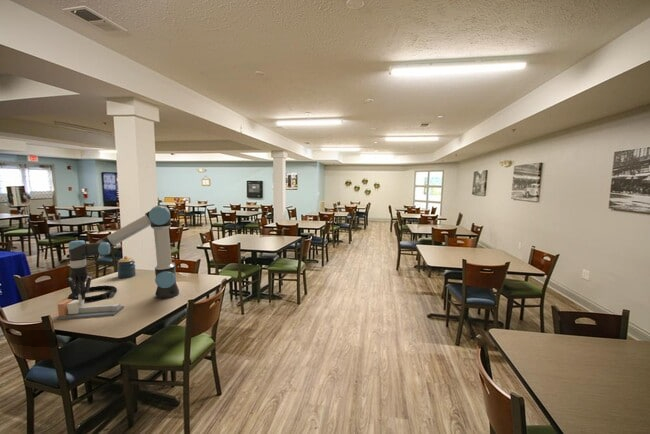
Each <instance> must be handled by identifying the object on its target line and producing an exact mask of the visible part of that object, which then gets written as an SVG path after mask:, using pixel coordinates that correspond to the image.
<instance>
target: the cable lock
mask: <svg viewBox="0 0 650 434" xmlns="http://www.w3.org/2000/svg"><path fill="white" fill-rule="evenodd" d="M80 290H81V289H80ZM97 291H107V292H104V293H101V294H96V295H90V296H85V297H86V298H85V299H84V303H90V302H96V301H100V300H105V299H112V298H114V297H115V293H117V291H118V289H117V287H116V286H114V285H96V286H90V288H89V292H88V293H91V292H97ZM80 294H81V293H80ZM67 299H72V301H73V300H77V295H76V294H72V292H71V293H69V295H68V296H67Z"/></svg>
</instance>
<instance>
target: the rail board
mask: <svg viewBox="0 0 650 434" xmlns="http://www.w3.org/2000/svg"><path fill="white" fill-rule="evenodd" d="M71 301H72V299H68V298H67V299H65V300H63V301H61V302H59V303H58V304H57V312H58V315H57V317H56V320H58V321H59V320H70V319H85V318H98V317H110V316H111V317H113V316H115V315H117V314H118V313H119V312H120V311H122V310H123V309H124V308H125V306H124V305H122V304H121V303H115V304H104V305H103V304H102V305H89V306H83V307H79V312H80V313H78V314H68V309H67V304H68V303H70V302H71Z"/></svg>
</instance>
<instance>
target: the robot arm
mask: <svg viewBox="0 0 650 434" xmlns="http://www.w3.org/2000/svg"><path fill="white" fill-rule="evenodd" d="M171 221H172V220H171V210H170V209H169V208H168V207H167V206H166V205H163V204H159V205H155V206H154V207H152V208H151V209H150V210H149V211H147V212H145V214H144V215H143V216H141V217H139V218H138V219H136V220H134V221H132V222H130V223H128V224H126V225H124V226H123V227H121V228H119V229H117V230H116V231H114V232H112V233H110V234H109V235H106V236H105V237H103V238H100V239H98V240H97V241H96V242H91V243H86V241H85V240H83V239H82V240H80V239H79V240H71V241H70V242H69V243H68V255H69V267H70V269H69V270H70V277H68V278H66V279H65V280H66V282H67V283H68V284H69V289H70V290H71V291H70V292H71V293H72V294H76V295H77V296H76V297H77V300H79V306H81V305H83V304H84V305H85V302H84V299H85V298H86V297H87V296H86V294H88V293H90V292H89V288H90V287H91V283H92V279H94V278H93V276H90V275H89V274H88V266H87V257H90V256H105V255H109V254H111V248H113V247H114V246H116V245H118V244H120V243H122V242H123V241H126V240H127V239H129V238H131V237H132V236H134V235H136V234H138V233H139V232H142V231H143V230H145V229H147V228H149V227H150V228H151V229H153V236H154V247H155V255H156V265H155V267H154V272H155V278H154V282H155V284H156V286H157V287H156V290H155V294H154V296H155V299H170V298H174V297H176V296H178V295H180V289H179V286H178V284H177V277H176V275H177V274H176V263H175V262H172V251H171V249H172V248H171V239H170V229H169V228H170V227H171V226H172V222H171ZM80 289H81V290H80ZM80 293H81V294H80ZM84 305H83V306H84Z"/></svg>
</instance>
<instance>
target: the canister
mask: <svg viewBox="0 0 650 434" xmlns="http://www.w3.org/2000/svg"><path fill="white" fill-rule="evenodd" d="M134 260H135V259H134V258H133V257H128V256H124V257H123V258H120V259H119V260H117V263H116V265H117V267H116V268H117V278H119V279H129V278H132V277H135V276H136V275H137V274H136V264H135V263H136V262H135V261H134Z"/></svg>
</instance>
